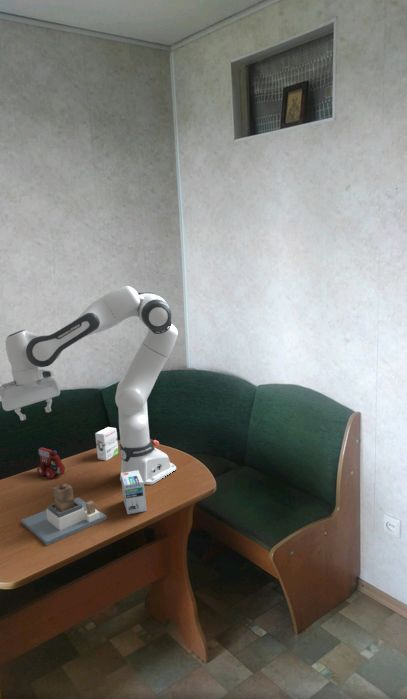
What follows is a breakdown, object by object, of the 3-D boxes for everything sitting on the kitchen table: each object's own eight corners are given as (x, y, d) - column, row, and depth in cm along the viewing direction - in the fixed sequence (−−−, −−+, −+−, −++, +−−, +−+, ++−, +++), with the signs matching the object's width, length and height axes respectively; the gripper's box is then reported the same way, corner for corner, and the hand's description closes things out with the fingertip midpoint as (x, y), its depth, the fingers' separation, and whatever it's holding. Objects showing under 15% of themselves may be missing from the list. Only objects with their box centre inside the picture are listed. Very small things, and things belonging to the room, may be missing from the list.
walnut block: (68, 503, 177) (65, 480, 175) (74, 508, 173) (72, 484, 172) (55, 509, 174) (52, 485, 172) (62, 513, 170) (59, 489, 169)
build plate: (78, 500, 190) (76, 483, 188) (106, 519, 176) (104, 500, 174) (21, 523, 176) (19, 504, 175) (47, 545, 162) (44, 525, 161)
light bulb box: (147, 511, 179) (144, 481, 177) (127, 515, 177) (124, 485, 175) (141, 497, 189) (139, 469, 187) (122, 501, 188) (120, 472, 185)
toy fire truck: (55, 481, 207) (52, 455, 205) (35, 474, 214) (31, 450, 212) (69, 474, 212) (66, 449, 210) (49, 467, 220) (46, 444, 217)
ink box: (110, 451, 232) (107, 426, 230) (119, 453, 230) (116, 427, 228) (97, 459, 225) (94, 432, 223) (106, 461, 223) (103, 434, 220)
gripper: (0, 385, 175) (11, 425, 177) (57, 370, 189) (66, 407, 190) (-6, 385, 180) (4, 424, 182) (49, 370, 193) (58, 407, 195)
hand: (36, 415), depth 186 cm, fingers open, 8 cm apart
